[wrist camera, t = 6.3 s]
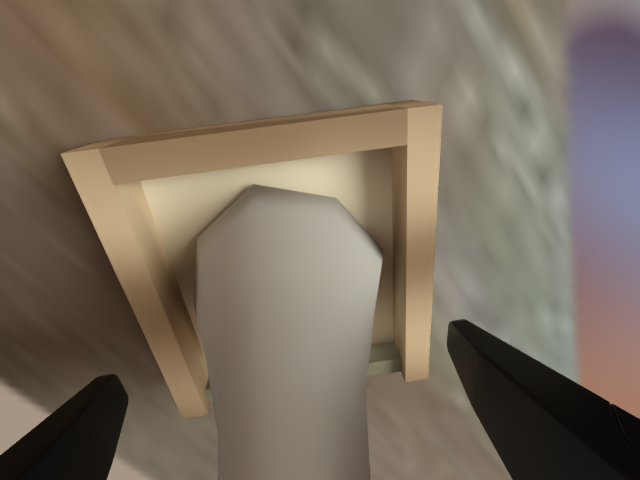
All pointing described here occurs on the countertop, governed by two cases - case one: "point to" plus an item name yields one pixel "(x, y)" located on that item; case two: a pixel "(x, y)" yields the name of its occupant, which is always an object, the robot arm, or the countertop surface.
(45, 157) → the countertop surface
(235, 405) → the flask
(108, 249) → the tray
